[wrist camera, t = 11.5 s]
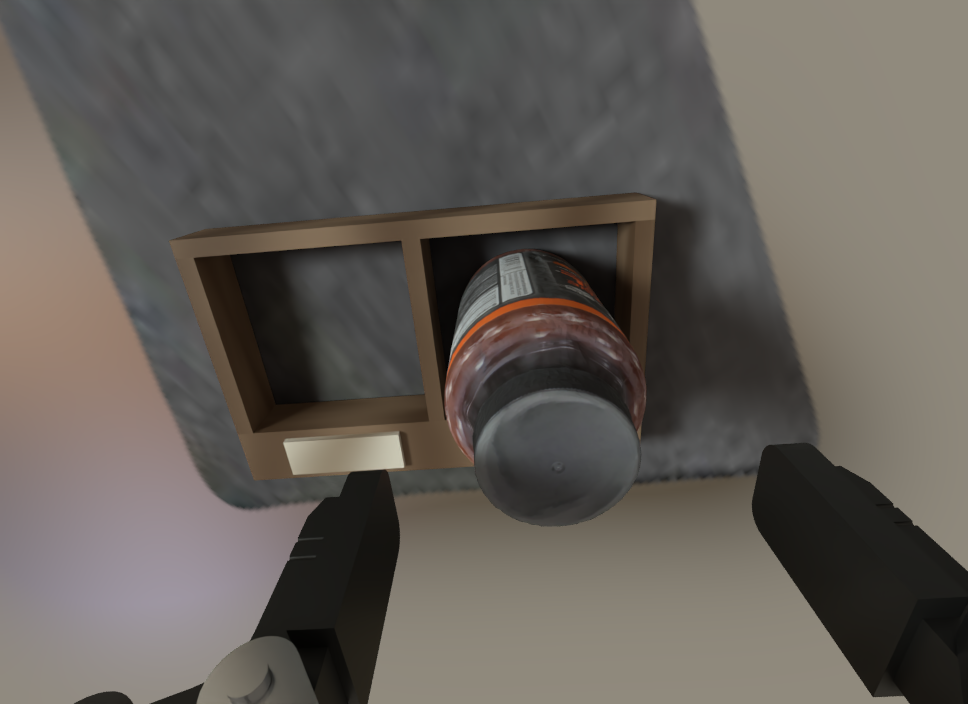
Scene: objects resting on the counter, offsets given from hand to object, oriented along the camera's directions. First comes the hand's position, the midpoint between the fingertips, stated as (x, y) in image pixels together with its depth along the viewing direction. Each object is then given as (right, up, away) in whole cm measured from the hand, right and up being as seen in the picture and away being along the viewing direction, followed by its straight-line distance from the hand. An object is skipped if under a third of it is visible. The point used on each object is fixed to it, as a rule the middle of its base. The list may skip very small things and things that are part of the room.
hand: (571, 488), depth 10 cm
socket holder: (-4, +4, +12) cm, 13 cm away
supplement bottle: (0, +5, +11) cm, 12 cm away
